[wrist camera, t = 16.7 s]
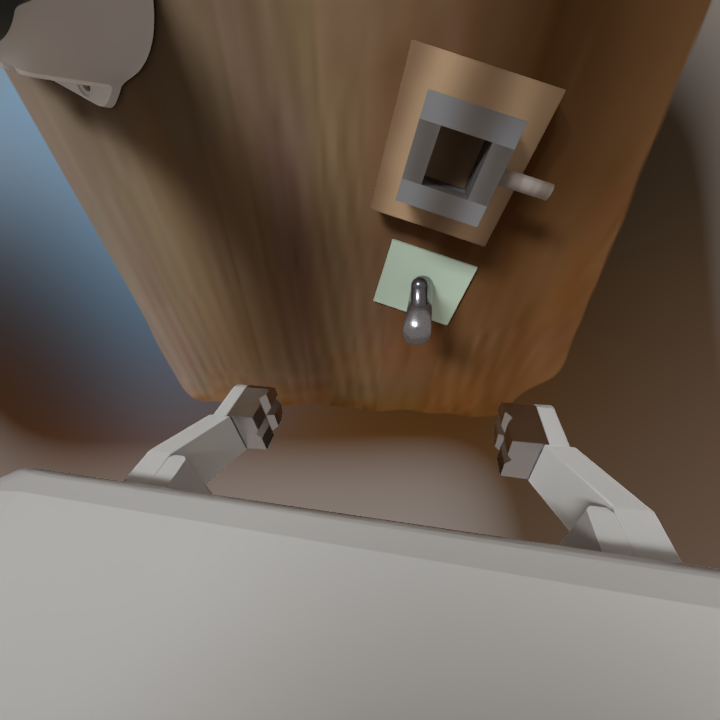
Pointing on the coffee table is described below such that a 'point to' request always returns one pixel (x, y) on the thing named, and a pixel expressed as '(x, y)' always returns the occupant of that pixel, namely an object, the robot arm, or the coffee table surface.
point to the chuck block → (461, 143)
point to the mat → (417, 262)
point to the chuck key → (419, 311)
